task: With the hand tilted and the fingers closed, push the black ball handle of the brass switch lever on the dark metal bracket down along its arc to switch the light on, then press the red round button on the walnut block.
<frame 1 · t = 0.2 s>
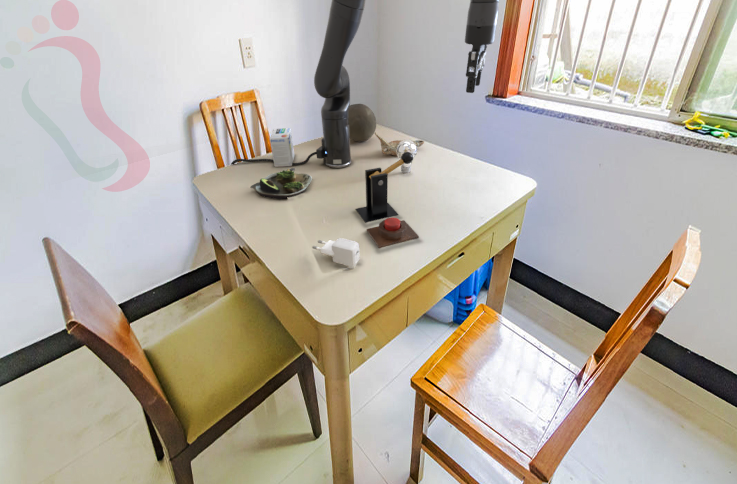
hand: (472, 88, 106), 29 cm above the table, tool pointing down, fingers open, 8 cm apart
cantaloupe: (359, 142, 156), on the table
light bulb box: (285, 161, 141), on the table
button block: (392, 237, 98), on the table
button: (392, 224, 95), point 4 cm above the table, slide at 0.1 cm
oil lamp: (400, 153, 145), on the table
switch bracket: (376, 215, 107), on the table
power adapter: (337, 261, 90), on the table
light bulb: (405, 174, 129), on the table
lever: (392, 167, 101), point 14 cm above the table, hinge at 25.0°
salad plate: (283, 188, 123), on the table
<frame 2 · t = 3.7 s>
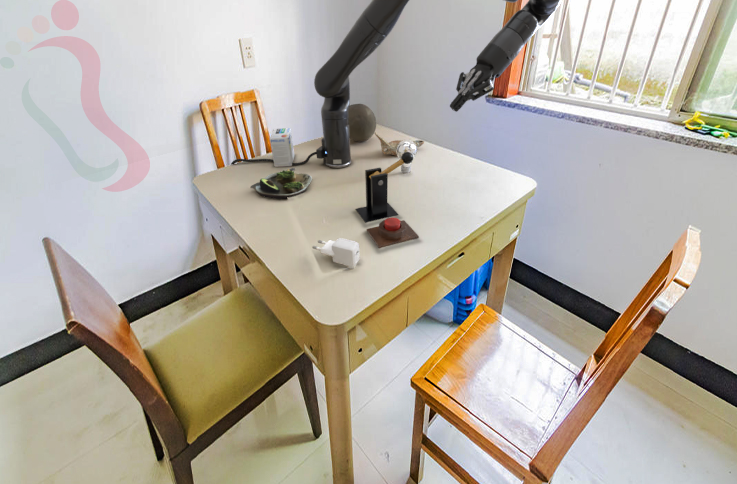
hand: (452, 109, 98), 27 cm above the table, tool tilted 45°, fingers closed
nothing on the table moved.
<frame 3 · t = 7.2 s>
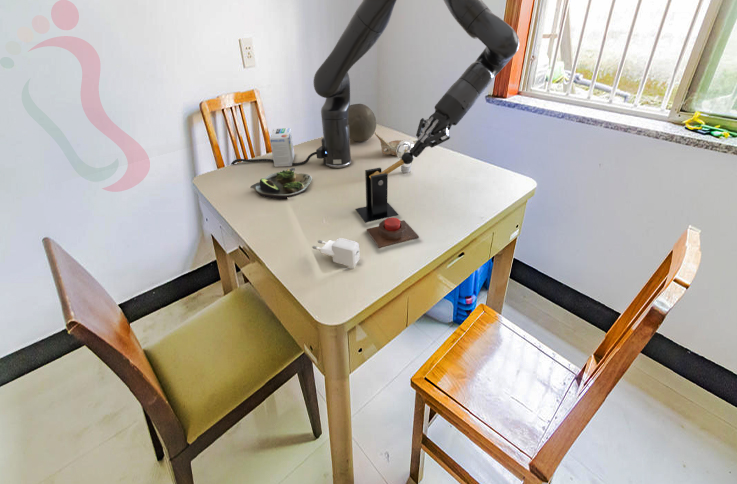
hand: (412, 154, 101), 16 cm above the table, tool tilted 45°, fingers closed
lever: (392, 168, 101), point 14 cm above the table, hinge at 24.3°, touching gripper
everything else where it was.
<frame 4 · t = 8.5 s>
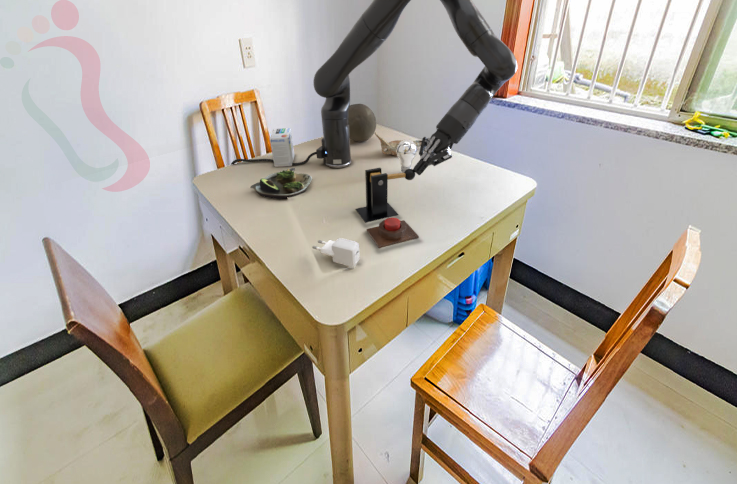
hand: (416, 172, 104), 11 cm above the table, tool tilted 45°, fingers closed
lever: (393, 176, 102), point 11 cm above the table, hinge at -4.4°, touching gripper
everything else where it was.
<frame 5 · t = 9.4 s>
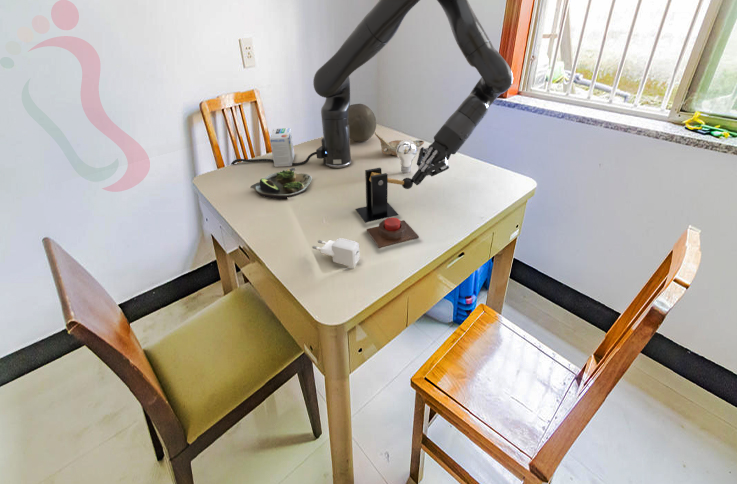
hand: (414, 182, 106), 8 cm above the table, tool tilted 45°, fingers closed
lever: (392, 181, 103), point 10 cm above the table, hinge at -19.8°, touching gripper
everything else where it was.
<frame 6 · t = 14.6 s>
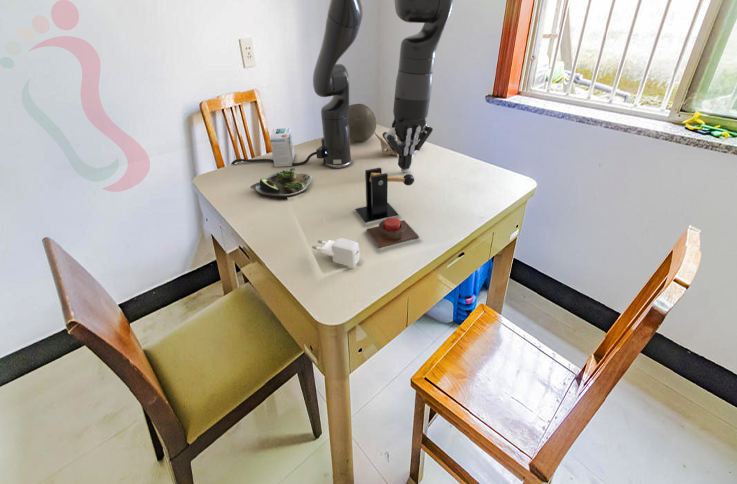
hand: (403, 167, 89), 18 cm above the table, tool pointing down, fingers closed
lever: (393, 179, 103), point 10 cm above the table, hinge at -13.7°
everything else where it was.
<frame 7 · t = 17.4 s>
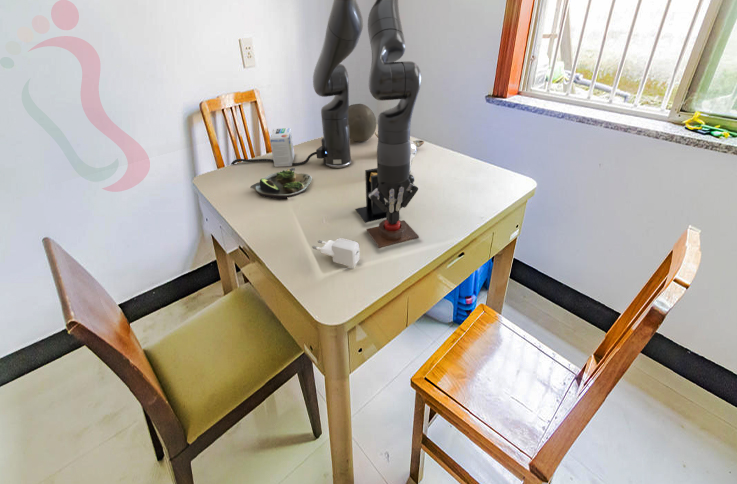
hand: (392, 222, 95), 5 cm above the table, tool pointing down, fingers closed
button: (392, 225, 96), point 4 cm above the table, slide at -0.3 cm, touching gripper
everything else where it was.
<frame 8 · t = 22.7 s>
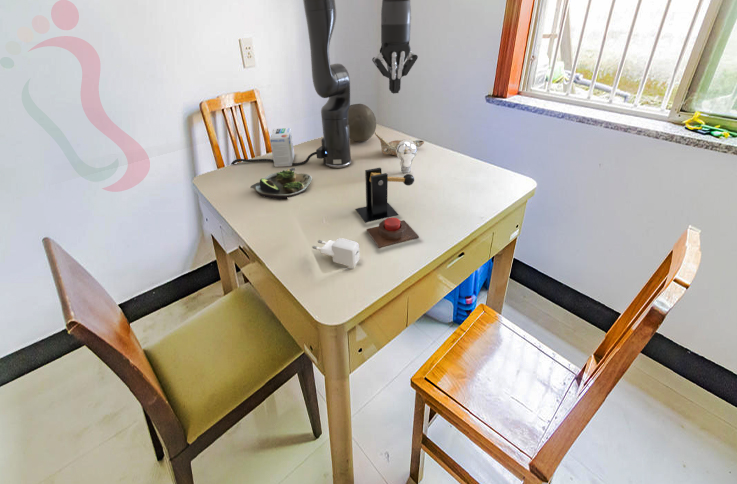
hand: (394, 92, 105), 29 cm above the table, tool pointing down, fingers closed
button: (392, 224, 95), point 4 cm above the table, slide at 0.1 cm
everything else where it was.
at the end: lever at -14° (first picture: +25°); button pushed in 1.2 cm at the most during the clip, back to where it started at the end; button slide at 0.1 cm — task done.
